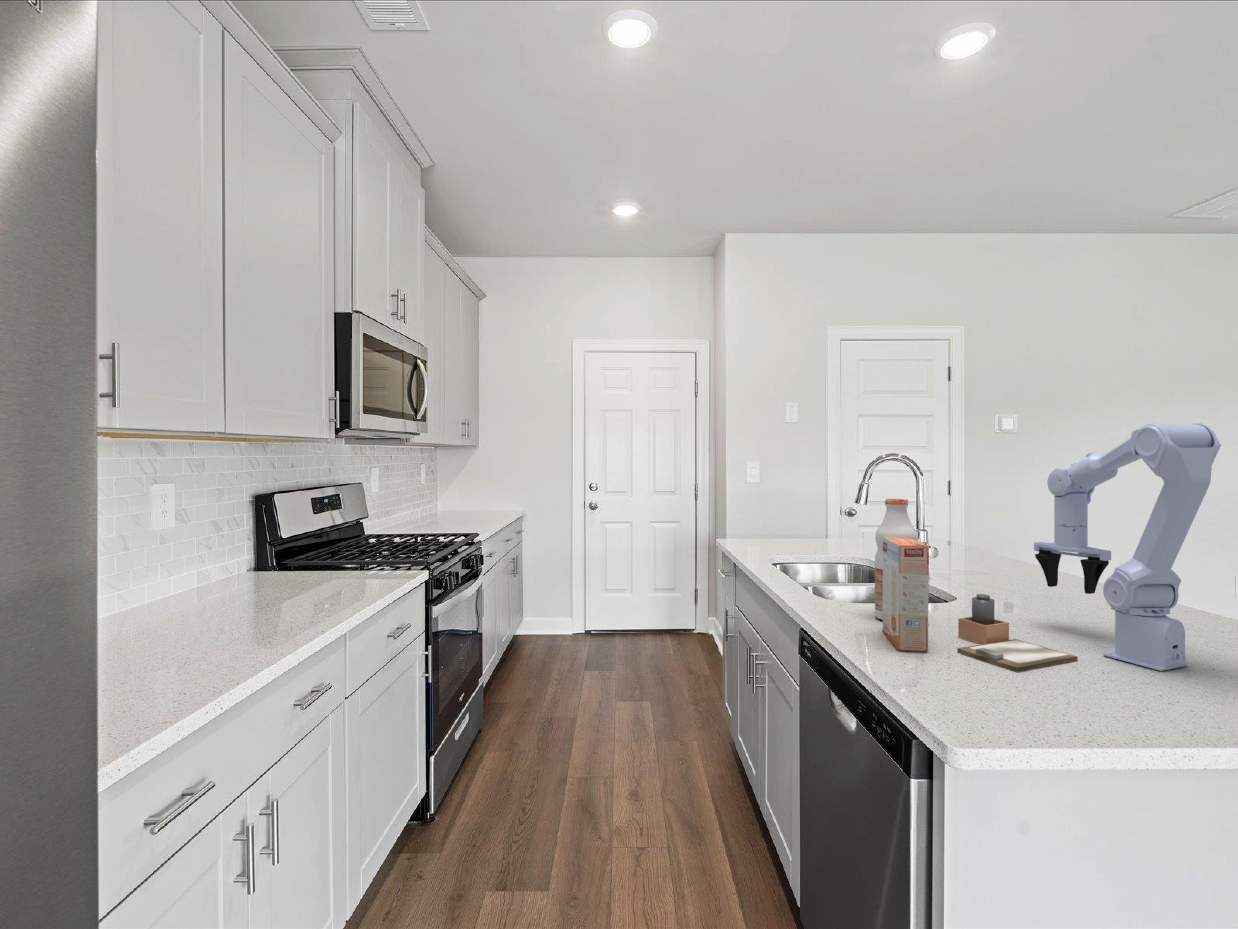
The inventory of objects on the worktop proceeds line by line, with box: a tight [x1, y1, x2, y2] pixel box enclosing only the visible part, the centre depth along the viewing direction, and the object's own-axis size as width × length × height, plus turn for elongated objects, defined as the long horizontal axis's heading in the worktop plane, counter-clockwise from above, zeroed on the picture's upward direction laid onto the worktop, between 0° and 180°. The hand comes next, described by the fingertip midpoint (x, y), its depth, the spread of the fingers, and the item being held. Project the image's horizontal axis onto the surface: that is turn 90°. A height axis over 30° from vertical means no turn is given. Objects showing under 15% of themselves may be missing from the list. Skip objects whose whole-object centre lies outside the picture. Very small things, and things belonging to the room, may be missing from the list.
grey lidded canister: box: [971, 593, 995, 625], centre depth 128 cm, size 4×4×9 cm
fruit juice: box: [874, 498, 919, 620], centre depth 145 cm, size 9×9×28 cm
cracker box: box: [881, 537, 930, 653], centre depth 127 cm, size 14×6×21 cm, turn 168°
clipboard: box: [956, 638, 1079, 673], centre depth 118 cm, size 12×16×2 cm
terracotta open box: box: [957, 616, 1010, 645], centre depth 128 cm, size 6×6×4 cm
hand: (1070, 589), depth 132 cm, fingers open, 7 cm apart
